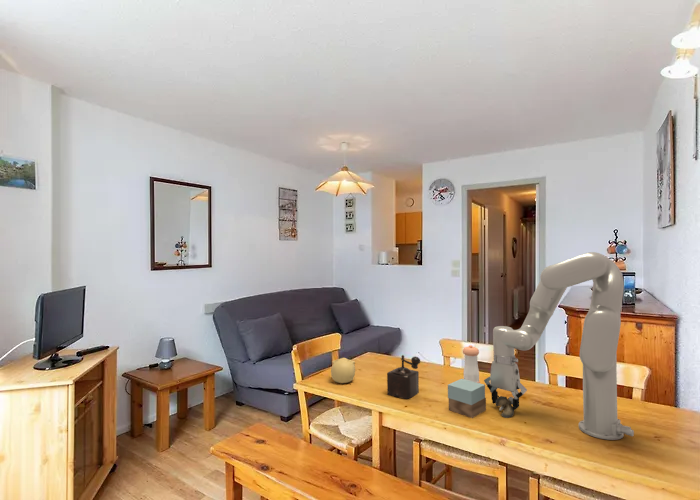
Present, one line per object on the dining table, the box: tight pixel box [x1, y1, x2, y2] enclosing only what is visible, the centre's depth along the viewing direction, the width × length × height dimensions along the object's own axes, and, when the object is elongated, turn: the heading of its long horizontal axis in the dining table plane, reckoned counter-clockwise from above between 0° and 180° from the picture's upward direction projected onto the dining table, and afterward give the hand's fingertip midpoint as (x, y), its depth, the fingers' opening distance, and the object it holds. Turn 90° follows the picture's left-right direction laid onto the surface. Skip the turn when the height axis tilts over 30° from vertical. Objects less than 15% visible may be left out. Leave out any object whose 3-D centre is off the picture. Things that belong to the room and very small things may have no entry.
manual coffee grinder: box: [386, 354, 421, 400], centre depth 163 cm, size 16×11×18 cm
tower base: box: [448, 397, 487, 419], centre depth 146 cm, size 10×10×5 cm
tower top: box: [447, 378, 486, 405], centre depth 146 cm, size 10×10×5 cm
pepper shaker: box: [462, 344, 481, 384], centre depth 169 cm, size 7×7×19 cm
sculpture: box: [330, 357, 356, 384], centre depth 182 cm, size 12×12×11 cm
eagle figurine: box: [494, 394, 515, 419], centre depth 143 cm, size 8×7×9 cm
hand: (505, 405), depth 145 cm, fingers closed on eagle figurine, 7 cm apart
